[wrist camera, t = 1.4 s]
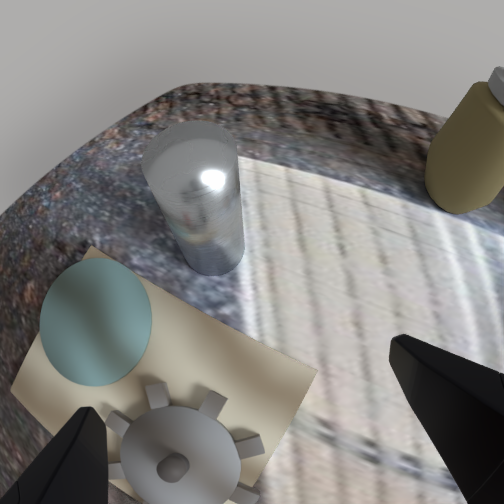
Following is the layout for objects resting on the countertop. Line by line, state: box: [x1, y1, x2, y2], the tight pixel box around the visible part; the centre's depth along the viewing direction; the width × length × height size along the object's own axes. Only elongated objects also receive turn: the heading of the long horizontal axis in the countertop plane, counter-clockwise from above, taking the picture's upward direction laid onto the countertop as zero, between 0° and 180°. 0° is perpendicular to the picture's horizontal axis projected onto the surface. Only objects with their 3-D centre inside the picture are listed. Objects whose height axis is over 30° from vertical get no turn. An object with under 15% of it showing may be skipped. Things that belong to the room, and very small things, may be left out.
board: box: [10, 245, 318, 504], centre depth 19 cm, size 16×22×4 cm
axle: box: [142, 121, 245, 276], centre depth 20 cm, size 5×5×11 cm
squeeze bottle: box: [424, 66, 504, 214], centre depth 19 cm, size 8×8×18 cm
